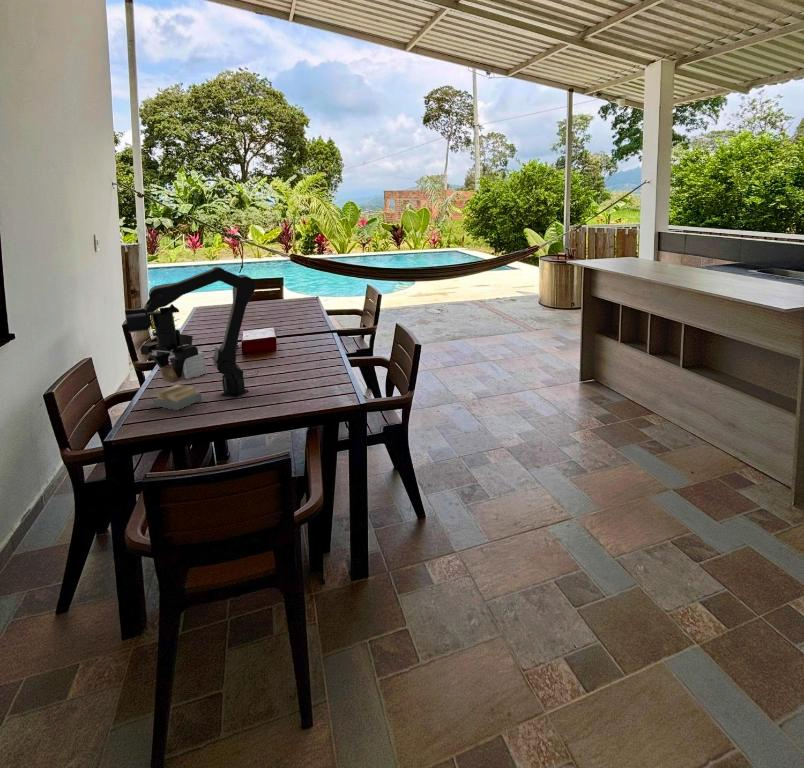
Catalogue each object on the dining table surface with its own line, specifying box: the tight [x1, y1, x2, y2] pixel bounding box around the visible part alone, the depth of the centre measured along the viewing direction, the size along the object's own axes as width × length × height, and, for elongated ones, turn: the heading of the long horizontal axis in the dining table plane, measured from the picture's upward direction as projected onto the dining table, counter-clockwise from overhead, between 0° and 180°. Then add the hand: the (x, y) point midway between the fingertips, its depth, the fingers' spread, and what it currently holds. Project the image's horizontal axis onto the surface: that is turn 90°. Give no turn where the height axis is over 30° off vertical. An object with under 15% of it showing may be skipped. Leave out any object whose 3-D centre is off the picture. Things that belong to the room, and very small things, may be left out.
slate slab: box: [152, 391, 203, 411], centre depth 176 cm, size 10×10×2 cm
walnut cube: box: [160, 363, 186, 384], centre depth 173 cm, size 4×4×4 cm
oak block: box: [156, 384, 197, 402], centre depth 175 cm, size 8×8×2 cm
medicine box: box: [183, 350, 207, 380], centre depth 202 cm, size 8×4×9 cm, turn 141°
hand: (173, 376), depth 173 cm, fingers closed on walnut cube, 4 cm apart
